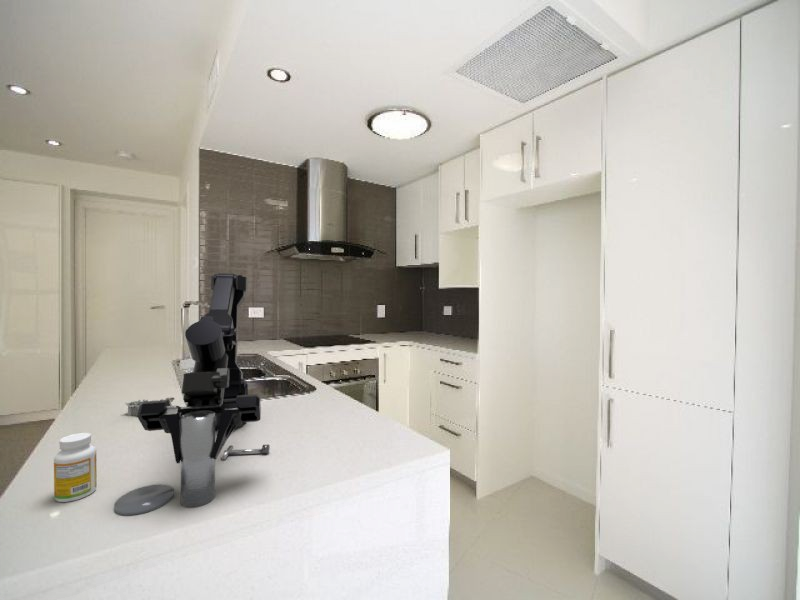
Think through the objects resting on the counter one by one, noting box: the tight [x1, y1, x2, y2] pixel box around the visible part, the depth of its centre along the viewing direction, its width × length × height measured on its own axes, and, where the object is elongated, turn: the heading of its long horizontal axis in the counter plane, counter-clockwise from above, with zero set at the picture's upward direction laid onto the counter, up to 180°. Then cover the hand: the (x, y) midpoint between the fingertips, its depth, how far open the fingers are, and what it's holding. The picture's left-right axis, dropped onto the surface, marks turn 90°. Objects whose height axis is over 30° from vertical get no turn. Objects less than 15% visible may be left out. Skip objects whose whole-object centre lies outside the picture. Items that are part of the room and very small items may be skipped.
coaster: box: [113, 484, 174, 516], centre depth 60 cm, size 8×8×1 cm
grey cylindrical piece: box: [180, 410, 216, 509], centre depth 61 cm, size 5×5×14 cm
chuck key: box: [220, 444, 270, 461], centre depth 78 cm, size 9×5×2 cm, turn 98°
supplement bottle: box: [53, 432, 98, 503], centre depth 62 cm, size 5×5×10 cm
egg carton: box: [124, 396, 175, 417], centre depth 103 cm, size 11×8×4 cm
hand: (196, 460), depth 60 cm, fingers closed on grey cylindrical piece, 5 cm apart
